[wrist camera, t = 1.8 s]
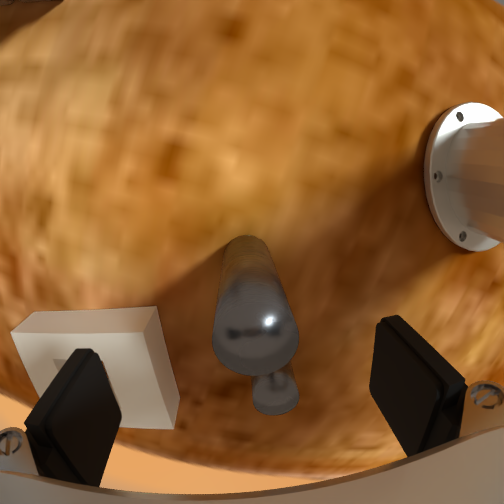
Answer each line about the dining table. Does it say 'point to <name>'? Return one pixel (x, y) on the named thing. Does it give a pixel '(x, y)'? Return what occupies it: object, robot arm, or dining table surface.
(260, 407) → the short pin
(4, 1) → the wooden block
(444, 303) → the dining table surface
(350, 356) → the dining table surface
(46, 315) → the hole block
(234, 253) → the long pin
